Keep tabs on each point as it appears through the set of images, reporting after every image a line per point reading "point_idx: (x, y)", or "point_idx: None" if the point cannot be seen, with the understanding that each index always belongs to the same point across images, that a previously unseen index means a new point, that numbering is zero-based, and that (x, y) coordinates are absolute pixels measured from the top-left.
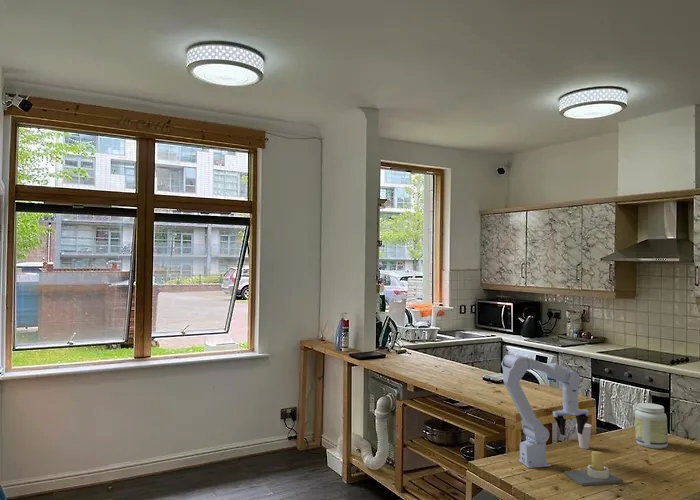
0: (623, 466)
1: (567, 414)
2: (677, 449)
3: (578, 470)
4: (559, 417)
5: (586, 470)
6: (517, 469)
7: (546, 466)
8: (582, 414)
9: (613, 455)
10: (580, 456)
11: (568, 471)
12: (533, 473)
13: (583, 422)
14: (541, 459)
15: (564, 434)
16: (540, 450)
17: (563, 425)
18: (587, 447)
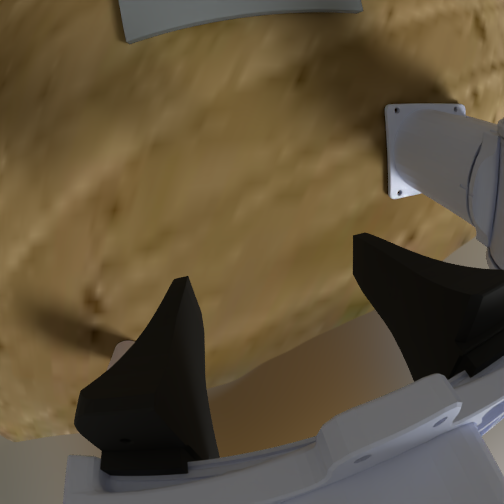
0: (13, 139)
1: (484, 377)
2: None
3: (288, 7)
4: (501, 330)
5: (242, 3)
6: (487, 104)
7: (404, 104)
8: (151, 474)
9: (31, 278)
10: (175, 253)
11: (345, 5)
12: (460, 55)
13: (151, 355)
14: (441, 112)
15: (357, 237)
16: (476, 120)
17: (429, 265)
18: (120, 345)
